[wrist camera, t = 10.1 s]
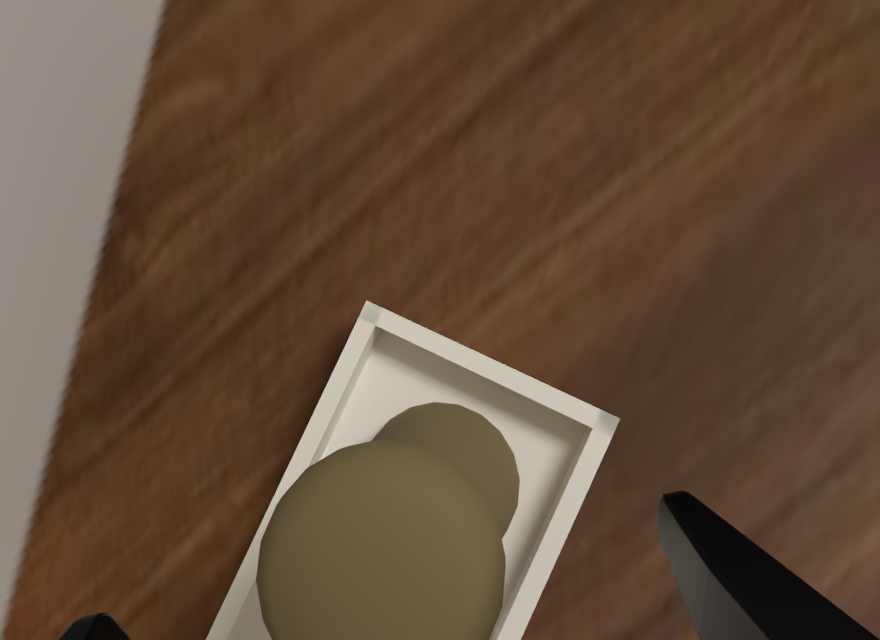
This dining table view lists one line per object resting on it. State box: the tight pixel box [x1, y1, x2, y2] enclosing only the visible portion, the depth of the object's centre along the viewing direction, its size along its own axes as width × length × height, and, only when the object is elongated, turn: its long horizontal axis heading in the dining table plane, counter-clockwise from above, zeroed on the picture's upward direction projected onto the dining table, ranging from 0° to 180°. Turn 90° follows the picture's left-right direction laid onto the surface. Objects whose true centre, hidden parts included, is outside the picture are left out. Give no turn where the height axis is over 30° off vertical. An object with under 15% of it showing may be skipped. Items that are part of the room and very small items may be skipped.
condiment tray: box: [206, 301, 620, 640], centre depth 21 cm, size 19×10×2 cm, turn 155°
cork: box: [256, 402, 520, 640], centre depth 16 cm, size 6×6×11 cm
